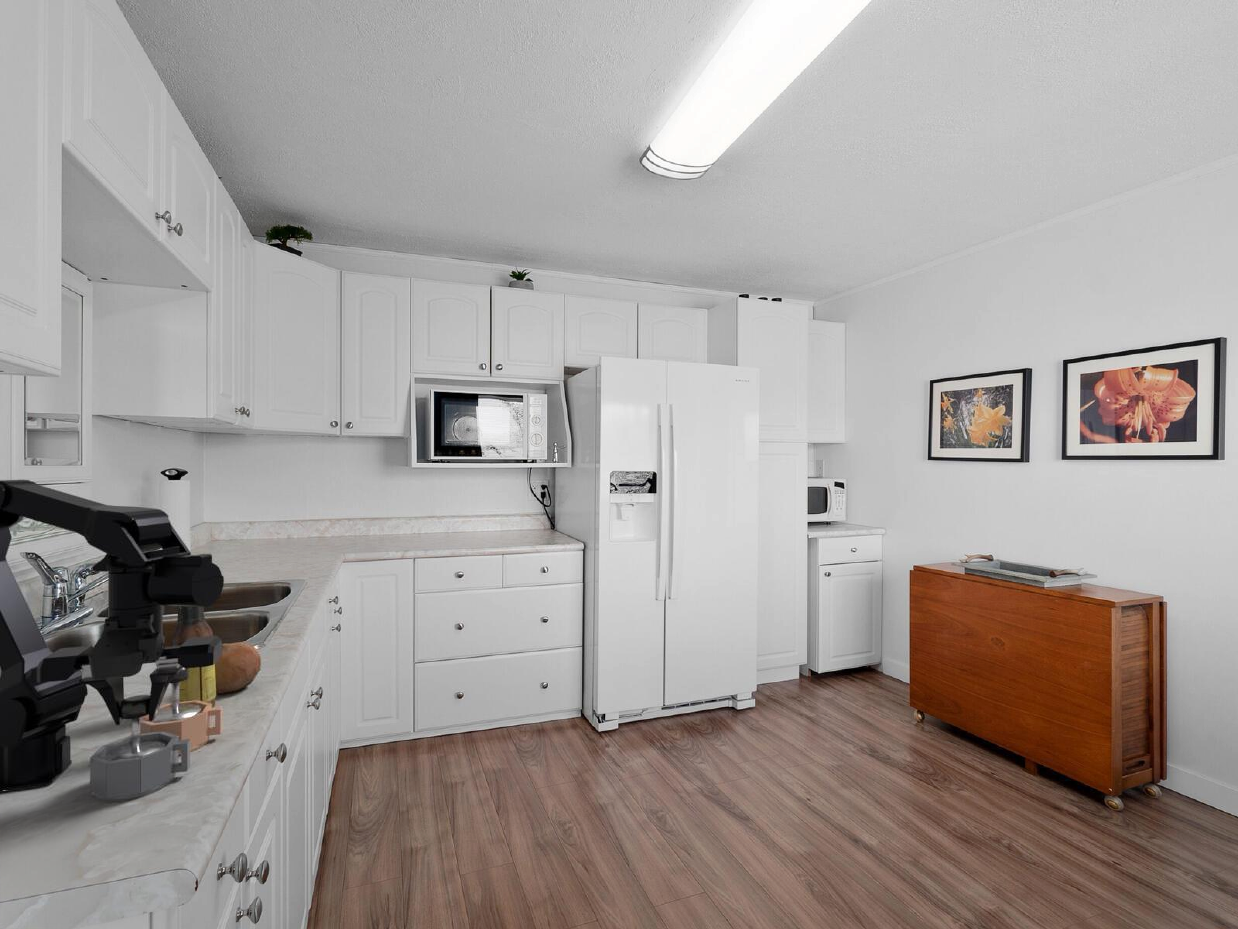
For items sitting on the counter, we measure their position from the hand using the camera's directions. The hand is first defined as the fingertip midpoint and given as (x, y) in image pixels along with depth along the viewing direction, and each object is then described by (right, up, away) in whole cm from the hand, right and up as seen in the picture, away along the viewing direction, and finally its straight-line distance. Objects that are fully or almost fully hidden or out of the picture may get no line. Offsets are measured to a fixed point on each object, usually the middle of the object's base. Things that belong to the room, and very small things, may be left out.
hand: (135, 722), depth 83 cm
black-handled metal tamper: (-3, -4, +11) cm, 12 cm away
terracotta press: (-3, -8, +11) cm, 14 cm away
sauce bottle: (-9, -8, +24) cm, 27 cm away
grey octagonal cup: (0, -8, 0) cm, 8 cm away
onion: (-8, -8, +34) cm, 36 cm away
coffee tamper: (0, -4, 0) cm, 4 cm away
